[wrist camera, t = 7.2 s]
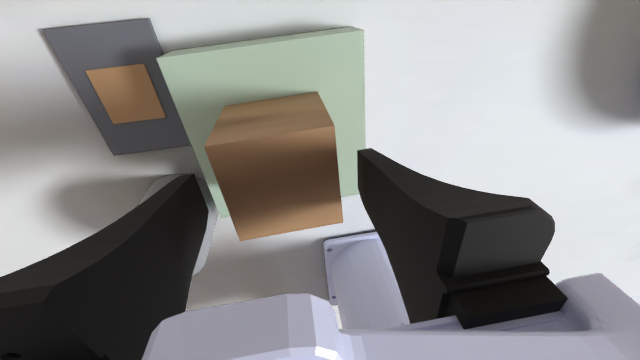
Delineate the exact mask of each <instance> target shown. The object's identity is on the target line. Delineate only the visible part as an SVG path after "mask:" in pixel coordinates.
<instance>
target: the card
mask: <svg viewBox="0 0 640 360" xmlns="http://www.w3.org/2000/svg"><path fill="white" fill-rule="evenodd" d="M42 31H43V32H44V34H45V36H46V38H47V39H48V41H49V43H50V45H51V46H52V48H53V50H54V52H55V53H56V55H57V57H58V59H59V60H60V62H61V64H62V66H63V67H64V69H65V71H66V73H67V75H68V76H69V78H70V80H71V82H72V83H73V85H74V87H75V89H76V90H77V92H78V94H79V96H80V97H81V99H82V101H83V103H84V104H85V106H86V108H87V110H88V111H89V113H90V115H91V117H92V118H93V120H94V122H95V124H96V125H97V127H98V129H99V131H100V132H101V134H102V136H103V138H104V139H105V141H106V143H107V145H108V146H109V148H110V150H111V152H112V153H113V155H122V154H129V153H136V152H144V151H151V150H158V149H166V148H173V147H180V146H188V145H191V143H190V140H189V138H188V135H187V133H186V131H185V128H184V126H183V123H182V121H181V118H180V116H179V113H178V111H177V108H176V106H175V103H174V101H173V99H172V96H171V94H170V91H169V89H168V86H167V84H166V81H165V79H164V76H163V74H162V71H161V69H160V67H159V64H158V62H157V59H156V58H158V57H160V56H162V55H163V53H162V50H161V48H160V45H159V42H158V40H157V37H156V34H155V32H154V29H153V26H152V24H151V21H150V18H149V19H139V20H130V21H120V22H111V23H101V24H91V25H82V26H72V27H63V28H53V29H44V30H42Z"/></svg>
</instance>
